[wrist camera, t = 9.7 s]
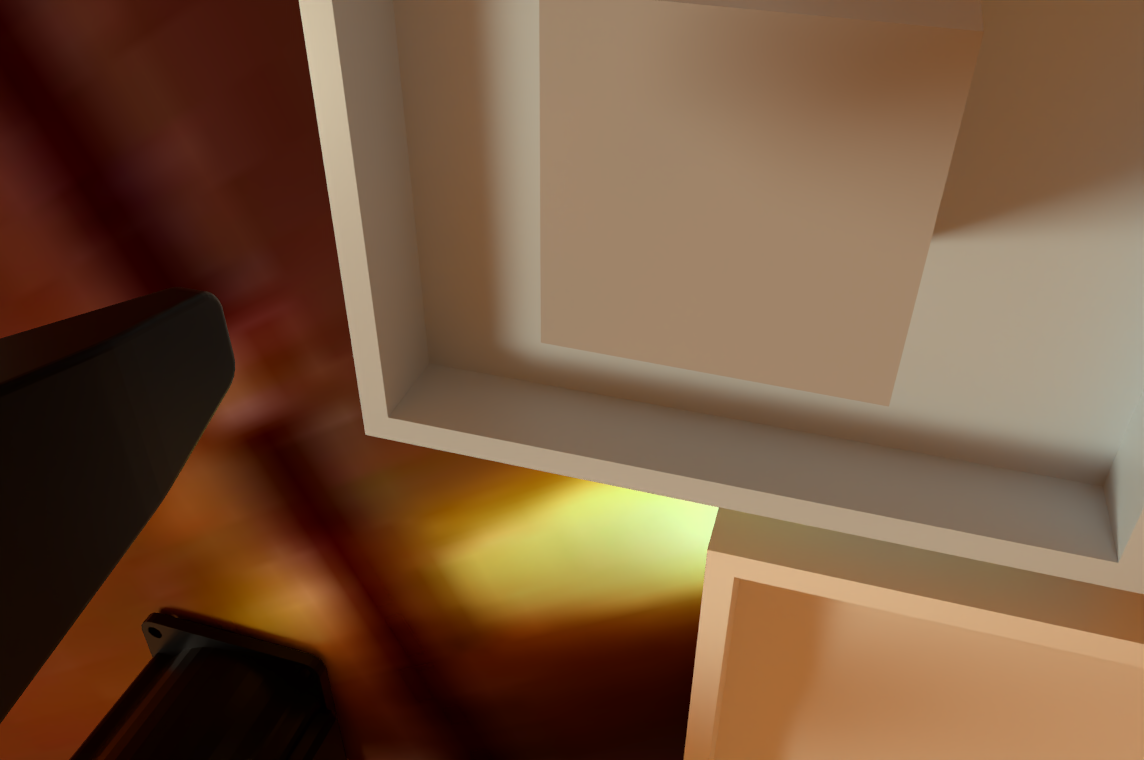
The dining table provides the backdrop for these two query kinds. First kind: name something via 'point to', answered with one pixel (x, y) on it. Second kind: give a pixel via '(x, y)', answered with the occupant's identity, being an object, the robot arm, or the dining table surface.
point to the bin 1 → (744, 408)
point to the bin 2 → (905, 654)
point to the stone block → (747, 180)
